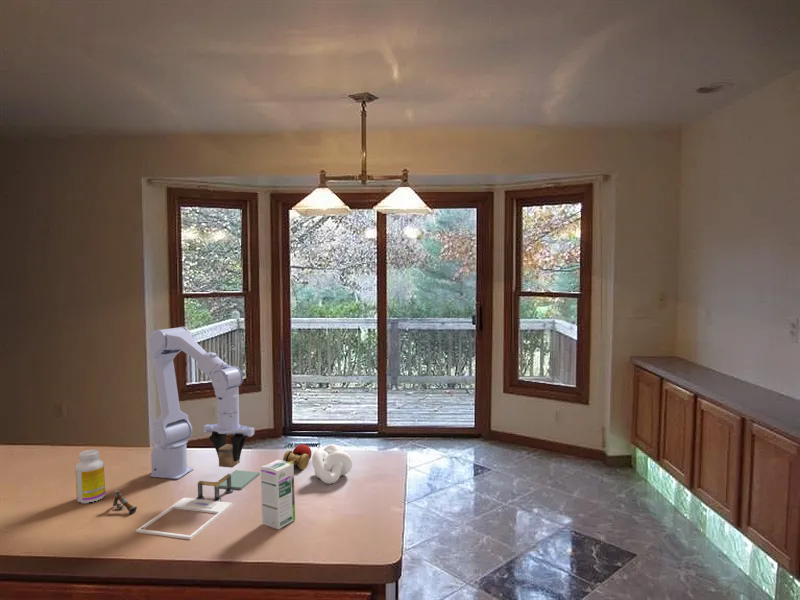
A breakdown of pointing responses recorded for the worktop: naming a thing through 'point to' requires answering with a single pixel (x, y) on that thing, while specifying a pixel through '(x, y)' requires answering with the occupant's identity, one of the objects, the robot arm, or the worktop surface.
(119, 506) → the wooden post with brackets
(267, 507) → the syrup box
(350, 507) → the worktop surface
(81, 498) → the supplement bottle
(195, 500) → the white flat frame
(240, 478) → the mat
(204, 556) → the worktop surface
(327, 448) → the white knot sculpture
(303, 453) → the kendama
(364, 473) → the worktop surface
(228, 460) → the walnut block
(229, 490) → the brass corner rail
